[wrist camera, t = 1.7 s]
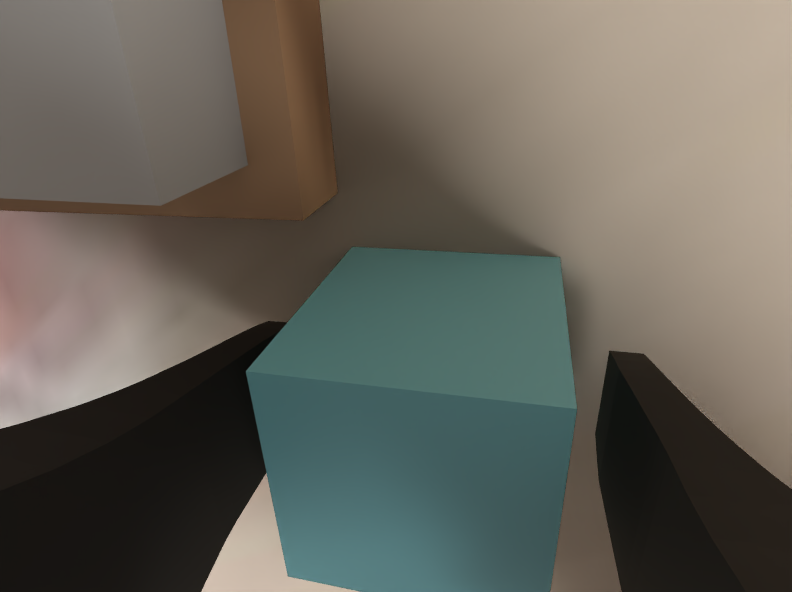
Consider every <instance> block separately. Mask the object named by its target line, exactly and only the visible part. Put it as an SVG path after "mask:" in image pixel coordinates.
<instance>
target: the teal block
mask: <svg viewBox="0 0 792 592" xmlns="http://www.w3.org/2000/svg"><path fill="white" fill-rule="evenodd" d="M246 375H247V380H248V385H249V390H250V394H251V399H252V404H253V409H254V414H255V419H256V424H257V428H258V433H259V438H260V443H261V448H262V453H263V458H264V462H265V467H266V472H267V477H268V482H269V487H270V492H271V496H272V501H273V506H274V511H275V516H276V521H277V526H278V530H279V535H280V540H281V545H282V550H283V555H284V560H285V564H286V569H287V574H288V576H289V577H293V578H298V579H303V580H308V581H313V582H317V583H322V584H327V585H332V586H337V587H341V588H346V589H351V590H356V591H360V592H550V590H551V583H552V576H553V569H554V562H555V556H556V549H557V542H558V535H559V528H560V522H561V515H562V508H563V501H564V494H565V488H566V481H567V474H568V467H569V461H570V454H571V447H572V440H573V433H574V427H575V420H576V413H577V404H576V395H575V386H574V377H573V368H572V359H571V351H570V342H569V333H568V324H567V315H566V306H565V297H564V288H563V280H562V271H561V262H560V257H546V256H526V255H506V254H487V253H467V252H447V251H427V250H408V249H388V248H368V247H352V248H351V249H350V250H349V251H348V252H347V253H346V255H345V256H344V257H343V258H342V259H341V260H340V262H339V263H338V264H337V265H336V266H335V267H334V269H333V270H332V271H331V272H330V273H329V275H328V276H327V277H326V278H325V279H324V280H323V282H322V283H321V284H320V285H319V286H318V287H317V289H316V290H315V291H314V292H313V293H312V294H311V296H310V297H309V298H308V299H307V300H306V301H305V303H304V304H303V305H302V306H301V307H300V308H299V310H298V311H297V312H296V313H295V314H294V315H293V317H292V318H291V319H290V320H289V321H288V322H287V324H286V325H285V326H284V327H283V328H282V329H281V331H280V332H279V333H278V334H277V335H276V337H275V338H274V339H273V340H272V341H271V342H270V344H269V345H268V346H267V347H266V348H265V349H264V351H263V352H262V353H261V354H260V355H259V356H258V358H257V359H256V360H255V361H254V362H253V363H252V365H251V366H250V367H249V368H248V369H247V370H246Z"/></svg>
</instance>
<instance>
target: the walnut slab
mask: <svg viewBox="0 0 792 592" xmlns="http://www.w3.org/2000/svg"><path fill="white" fill-rule="evenodd" d="M222 4H223V11H224V17H225V23H226V29H227V36H228V42H229V48H230V55H231V61H232V67H233V74H234V80H235V86H236V92H237V99H238V105H239V111H240V118H241V124H242V130H243V137H244V143H245V150H246V156H247V162H248V165H247V166H245V167H243V168H241V169H239V170H236V171H234V172H232V173H230V174H228V175H226V176H223V177H221V178H219V179H217V180H215V181H213V182H211V183H208V184H206V185H204V186H202V187H200V188H198V189H196V190H193V191H191V192H189V193H187V194H185V195H183V196H181V197H178V198H176V199H174V200H172V201H170V202H168V203H166V204H163V205H161V206H156V205H134V204H113V203H91V202H69V201H48V200H26V199H5V198H0V210H8V211H37V212H67V213H96V214H126V215H155V216H185V217H215V218H244V219H274V220H303V221H304V220H305V219H306V218H307V217H309V216H310V215H311V214H312V213H313V212H315V211H316V210H317V209H318V208H320V207H321V206H322V205H323V204H325V203H326V202H327V201H328V200H330V199H331V198H332V197H333V196H335V195H336V194H337V193H338V191H337V180H336V170H335V160H334V149H333V139H332V129H331V119H330V108H329V98H328V88H327V77H326V67H325V57H324V46H323V36H322V26H321V15H320V5H319V0H222Z"/></svg>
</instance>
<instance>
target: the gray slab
mask: <svg viewBox="0 0 792 592" xmlns="http://www.w3.org/2000/svg"><path fill="white" fill-rule="evenodd" d="M247 165H248V162H247V156H246V150H245V143H244V137H243V130H242V124H241V118H240V111H239V105H238V99H237V92H236V86H235V80H234V74H233V67H232V61H231V55H230V48H229V42H228V36H227V29H226V23H225V17H224V11H223V4H222V0H0V198H5V199H26V200H48V201H69V202H91V203H113V204H134V205H156V206H161V205H163V204H166V203H168V202H170V201H172V200H174V199H176V198H178V197H181V196H183V195H185V194H187V193H189V192H191V191H193V190H196V189H198V188H200V187H202V186H204V185H206V184H208V183H211V182H213V181H215V180H217V179H219V178H221V177H223V176H226V175H228V174H230V173H232V172H234V171H236V170H239V169H241V168H243V167H245V166H247Z"/></svg>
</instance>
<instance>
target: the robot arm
mask: <svg viewBox="0 0 792 592" xmlns="http://www.w3.org/2000/svg"><path fill="white" fill-rule="evenodd" d="M286 324H287V323H285V322H274V321H268V322H265V323H262V324H260V325H257V326H255V327H253V328H251V329H248V330H246V331H244V332H242V333H240V334H238V335H236V336H234V337H232V338H230V339H228V340H226V341H224V342H222V343H220V344H218V345H216V346H214V347H212V348H210V349H208V350H206V351H204V352H202V353H200V354H198V355H196V356H194V357H192V358H190V359H188V360H186V361H184V362H182V363H180V364H177V365H175V366H173V367H171V368H169V369H167V370H164V371H162V372H160V373H158V374H156V375H154V376H151V377H149V378H147V379H145V380H143V381H140V382H138V383H136V384H133V385H131V386H129V387H126V388H124V389H121V390H119V391H116V392H114V393H111V394H108V395H106V396H103V397H100V398H98V399H95V400H92V401H90V402H87V403H84V404H81V405H78V406H75V407H72V408H69V409H66V410H62V411H59V412H56V413H53V414H50V415H46V416H43V417H40V418H37V419H33V420H30V421H27V422H24V423H20V424H17V425H13V426H10V427H6V428H2V429H0V592H201V591H202V589H203V586H204V584H205V582H206V580H207V578H208V576H209V574H210V572H211V570H212V568H213V566H214V564H215V561H216V559H217V557H218V555H219V553H220V551H221V549H222V547H223V545H224V543H225V541H226V539H227V537H228V535H229V534H230V532H231V530H232V528H233V526H234V525H235V523H236V521H237V519H238V518H239V516H240V515H241V513H242V511H243V510H244V508H245V506H246V505H247V503H248V502H249V500H250V498H251V497H252V495H253V493H254V492H255V490H256V489H257V487H258V485H259V484H260V482H261V480H262V479H263V477H264V476H265V474H266V467H265V462H264V458H263V453H262V448H261V443H260V438H259V433H258V428H257V424H256V419H255V414H254V409H253V404H252V399H251V394H250V390H249V385H248V380H247V375H246V370H247V369H248V368H249V367H250V366H251V365H252V363H253V362H254V361H255V360H256V359H257V358H258V356H259V355H260V354H261V353H262V352H263V351H264V349H265V348H266V347H267V346H268V345H269V344H270V342H271V341H272V340H273V339H274V338H275V337H276V335H277V334H278V333H279V332H280V331H281V329H282V328H283V327H284V326H285V325H286ZM595 436H596V450H597V464H598V476H599V483H600V489H601V494H602V498H603V503H604V508H605V513H606V518H607V523H608V528H609V532H610V537H611V542H612V547H613V552H614V556H615V561H616V566H617V571H618V575H619V580H620V585H621V590H622V592H792V489H791V488H789V487H788V486H787V485H785V484H784V483H783V482H781V481H780V480H779V479H777V478H776V477H775V476H774V475H772V474H771V473H770V472H768V471H767V470H766V469H765V468H763V467H762V466H761V465H760V464H759V463H757V462H756V461H755V460H754V459H753V458H752V457H750V456H749V455H748V454H747V453H746V452H745V451H743V450H742V449H741V448H740V447H739V446H738V445H736V444H735V443H734V442H733V441H732V440H731V439H729V438H728V437H727V436H726V435H725V434H724V433H723V432H722V431H721V430H720V429H718V428H717V427H716V426H715V425H714V424H713V423H712V422H711V421H710V420H709V419H708V418H707V417H706V416H705V415H703V414H702V413H701V412H700V411H699V410H698V409H697V408H696V407H695V406H694V405H693V404H692V403H691V402H690V401H689V400H688V399H687V398H686V397H685V396H684V395H683V394H682V393H681V392H680V391H679V390H678V389H677V388H676V387H675V386H674V385H673V384H672V383H671V382H670V380H669V379H668V378H667V377H666V376H665V375H664V374H663V373H662V372H661V371H660V370H659V369H658V368H657V367H656V366H655V365H654V364H653V363H652V362H651V361H650V360H649V359H648V358H647V357H646V356H645V355H644V354H639V353H628V352H616V351H609V356H608V362H607V368H606V374H605V380H604V386H603V391H602V397H601V403H600V409H599V415H598V421H597V427H596V433H595Z"/></svg>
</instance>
